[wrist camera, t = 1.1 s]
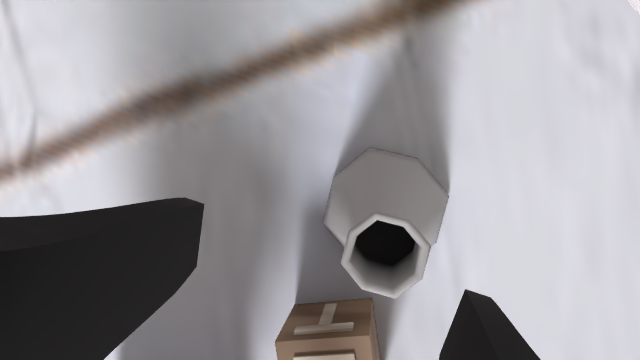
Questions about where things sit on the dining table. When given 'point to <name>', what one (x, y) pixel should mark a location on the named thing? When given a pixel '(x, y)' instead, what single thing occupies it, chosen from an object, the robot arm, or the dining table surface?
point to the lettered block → (330, 332)
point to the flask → (385, 220)
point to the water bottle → (635, 4)
